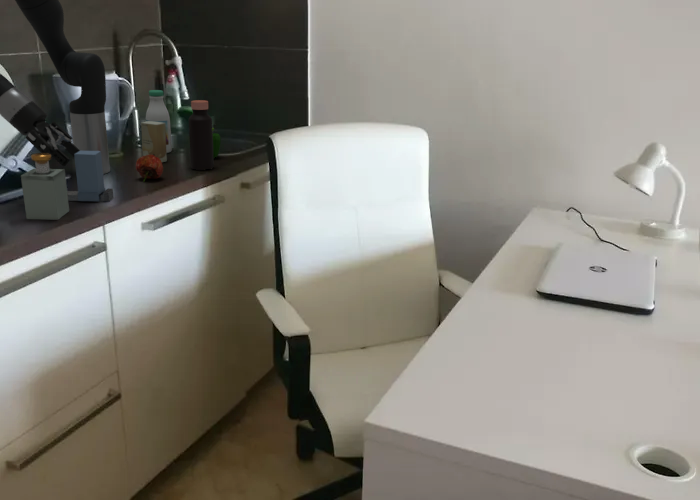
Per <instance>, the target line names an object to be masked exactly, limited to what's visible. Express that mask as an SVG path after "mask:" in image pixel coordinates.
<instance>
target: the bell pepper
mask: <svg viewBox="0 0 700 500" xmlns="http://www.w3.org/2000/svg"><path fill="white" fill-rule="evenodd" d="M214 130H215V128H214V127H212V131H214ZM221 139H222V138H221V135H220V134H219V133H215V132H214V133H213V158H214V159H216V158H218V155H219V154H220V150H221V149H220V148H221V145H222V143H221V141H222V140H221ZM215 157H216V158H215Z"/></svg>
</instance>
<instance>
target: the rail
mask: <svg viewBox="0 0 700 500" xmlns="http://www.w3.org/2000/svg"><path fill="white" fill-rule="evenodd" d="M77 193H78V190H74V191H73V190H67V195H68V202H79V201H78V194H77ZM99 199H100V201H99V202H103V201H109V202H111V201H112V200H113V199H114V188H107V189H105V191H104V192H102V193H101V194H99ZM110 200H111V201H110Z"/></svg>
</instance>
